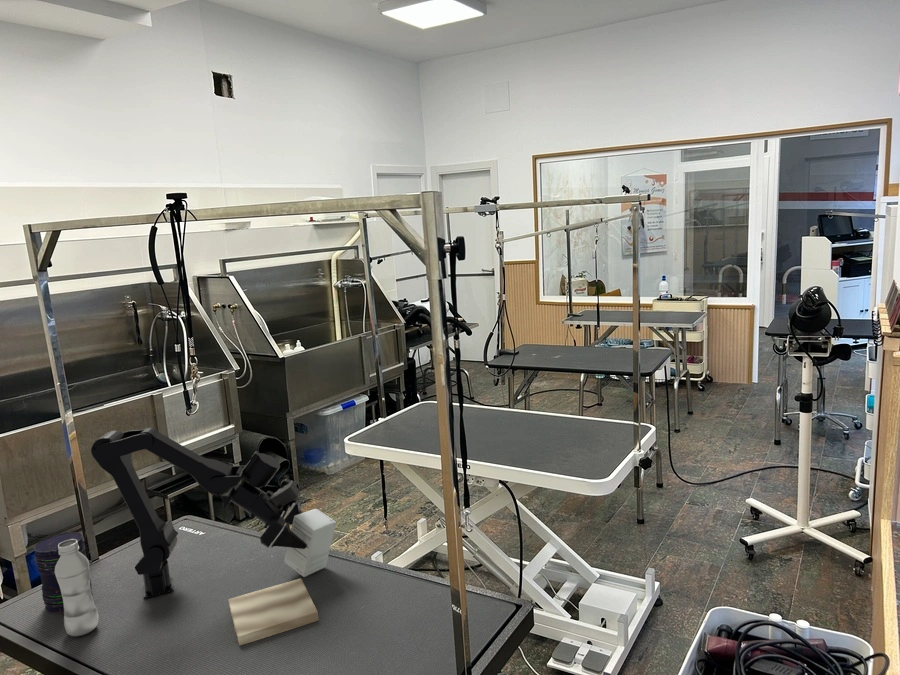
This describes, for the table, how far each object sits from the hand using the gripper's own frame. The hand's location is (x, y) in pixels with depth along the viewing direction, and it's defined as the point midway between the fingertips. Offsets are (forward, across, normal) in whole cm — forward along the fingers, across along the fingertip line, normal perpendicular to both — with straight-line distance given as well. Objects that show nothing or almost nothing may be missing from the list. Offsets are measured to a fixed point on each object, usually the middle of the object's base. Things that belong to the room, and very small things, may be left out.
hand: (309, 537), depth 157 cm
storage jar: (-36, -4, +44) cm, 57 cm away
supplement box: (+3, 0, +7) cm, 7 cm away
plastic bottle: (-29, -17, +37) cm, 50 cm away
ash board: (+1, -17, +10) cm, 20 cm away
